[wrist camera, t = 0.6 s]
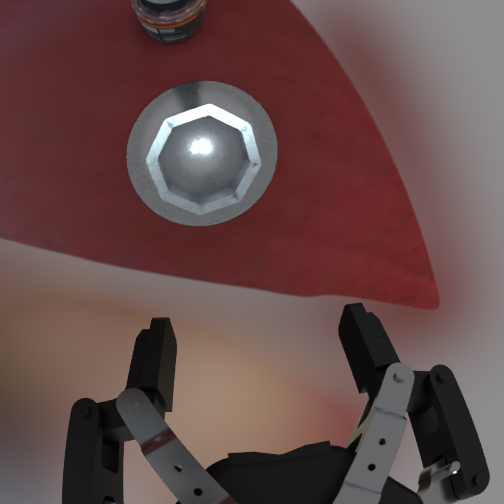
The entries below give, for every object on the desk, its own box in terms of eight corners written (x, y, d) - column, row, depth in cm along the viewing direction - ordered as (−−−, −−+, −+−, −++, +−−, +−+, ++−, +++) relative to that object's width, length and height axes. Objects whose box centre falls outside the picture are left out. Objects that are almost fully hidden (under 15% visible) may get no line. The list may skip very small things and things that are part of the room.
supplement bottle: (188, -11, 18) (192, -61, 9) (212, 29, 22) (229, -8, 12) (135, 14, 19) (111, -25, 9) (159, 55, 22) (145, 30, 13)
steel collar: (108, 192, 28) (100, 203, 25) (170, 57, 22) (168, 52, 19) (232, 241, 35) (237, 256, 32) (300, 125, 29) (313, 129, 26)
